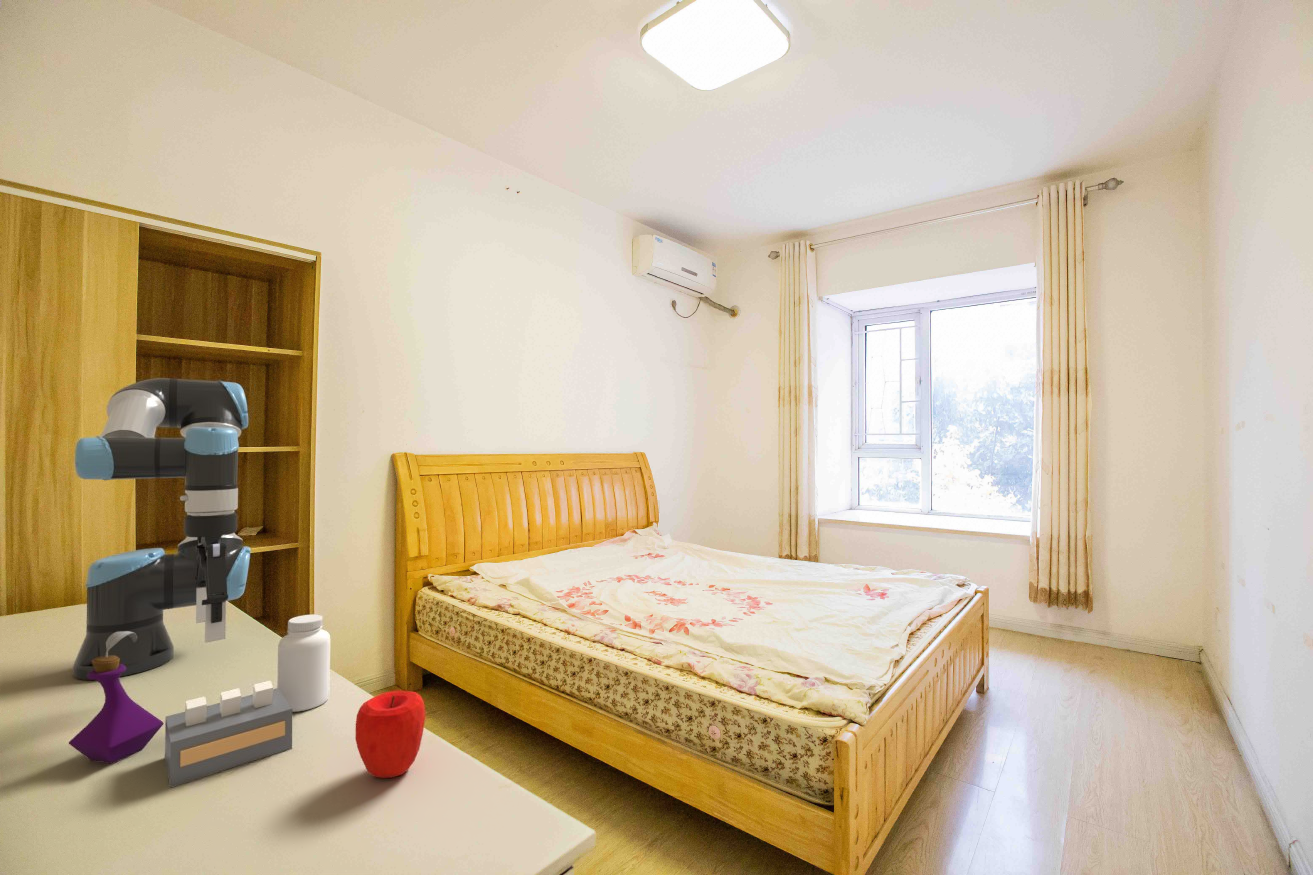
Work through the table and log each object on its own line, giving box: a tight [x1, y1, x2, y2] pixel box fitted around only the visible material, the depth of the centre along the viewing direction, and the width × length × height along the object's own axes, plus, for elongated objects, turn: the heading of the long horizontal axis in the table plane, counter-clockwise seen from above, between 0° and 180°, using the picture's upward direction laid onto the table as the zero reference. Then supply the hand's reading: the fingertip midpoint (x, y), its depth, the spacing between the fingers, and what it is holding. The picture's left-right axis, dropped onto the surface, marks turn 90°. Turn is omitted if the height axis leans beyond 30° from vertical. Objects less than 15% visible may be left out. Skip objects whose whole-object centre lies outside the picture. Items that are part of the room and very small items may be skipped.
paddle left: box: [184, 696, 208, 727], centre depth 81 cm, size 2×2×3 cm
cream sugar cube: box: [252, 680, 274, 708], centre depth 87 cm, size 2×2×3 cm
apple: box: [355, 690, 427, 779], centre depth 79 cm, size 9×9×11 cm
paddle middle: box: [219, 687, 242, 717], centre depth 84 cm, size 2×2×3 cm
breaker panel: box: [164, 687, 293, 788], centre depth 84 cm, size 10×14×6 cm
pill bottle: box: [276, 614, 331, 713], centre depth 100 cm, size 8×8×15 cm
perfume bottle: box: [68, 631, 164, 764], centre depth 84 cm, size 8×8×18 cm
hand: (210, 630), depth 102 cm, fingers open, 13 cm apart
